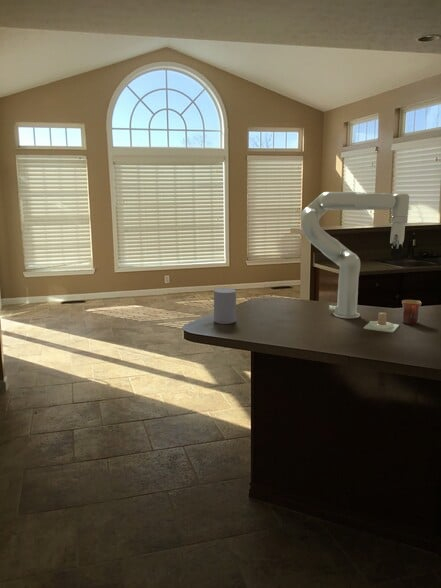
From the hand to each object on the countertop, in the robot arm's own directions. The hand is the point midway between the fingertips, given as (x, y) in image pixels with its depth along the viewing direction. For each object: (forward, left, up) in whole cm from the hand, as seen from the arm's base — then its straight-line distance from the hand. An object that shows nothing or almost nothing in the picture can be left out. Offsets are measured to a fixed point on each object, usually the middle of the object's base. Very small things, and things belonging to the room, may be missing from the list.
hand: (396, 255), depth 252 cm
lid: (0, -23, -30) cm, 38 cm away
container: (-67, -50, -31) cm, 89 cm away
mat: (0, -23, -30) cm, 38 cm away
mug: (+10, -10, -31) cm, 34 cm away
